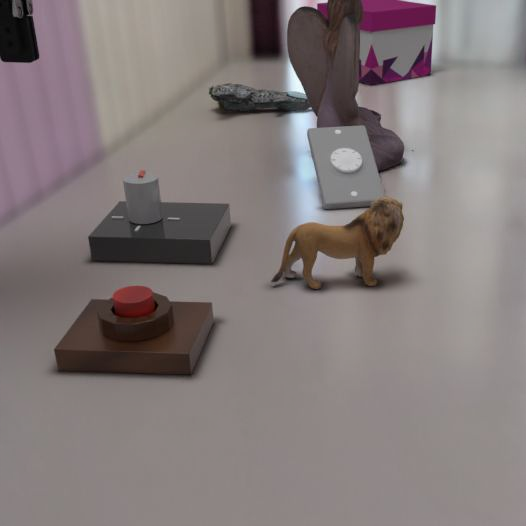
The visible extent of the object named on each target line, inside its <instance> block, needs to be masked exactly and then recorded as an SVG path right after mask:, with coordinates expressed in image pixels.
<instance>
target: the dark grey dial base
mask: <svg viewBox="0 0 526 526" xmlns="http://www.w3.org/2000/svg"><path fill="white" fill-rule="evenodd" d="M161 207H162V215H163V217H162V219H161V220H160V221H158V222H155V223H151V224H135V223H131V222H130V221H129V220H128V213H127V206H126V200H125V201H124V200H120V201H118V202H117V204H116V205H115V206H114V207H113V208H112V209H111V210H110V211H109V212H108V214H107V215H106V216H105V217H104V218H103V219H102V220H101V221H100V223H99V224H98V225H97V226H96V227H95V228H94V229H93V230H92V232H90V234H89V235H88V236H87V239H88V245H89V252H90V256H91V257H90V258H91V261H92V262H120V263H121V262H123V263H159V264H160V263H161V264H162V263H163V264H193V265H194V264H196V265H197V264H199V265H200V264H201V265H213V263H214V261H215V259H216V257H217V255H218V253H219V251H220V249H221V247H222V245H223V243H224V241H225V239H226V238H227V237H226V236H227V235H228V233H229V231H230V229H231V228H232V220H231V208H230V203H219V202H218V203H215V202H213V203H212V202H175V201H174V202H171V201H170V202H169V201H161Z"/></svg>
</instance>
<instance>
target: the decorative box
mask: <svg viewBox="0 0 526 526" xmlns="http://www.w3.org/2000/svg"><path fill="white" fill-rule="evenodd" d="M361 1H362V5H363V13H364V17H363V20H362V23H361V24H360V25H359V29H360V59H359V83H361V84H365V85H369V86H374V85H379V84H385V83H390V82H397V81H401V80H402V81H403V80H409V79H414V78H419V77H420V78H421V77H425V76H431V74H432V56H433V39H434V37H433V36H434V25H436V20H437V19H436V17H437V5H436V4H435V5H434V4H428V3H421V2H414V1H407V0H361ZM316 9H317V10H319V11H320V12H321V13H322V14H323V15H324V17H325V18H326V19H328V15H327V2H318V3H316Z"/></svg>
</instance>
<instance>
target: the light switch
mask: <svg viewBox="0 0 526 526" xmlns="http://www.w3.org/2000/svg"><path fill="white" fill-rule="evenodd" d="M306 136H307V140H308V144H309V148H310V149H309V150H310V154H311V158H312V163H313V167H314V172H315V176H316V180H317V185H318V188H319V192H320V198H321V201H322V206H323V209H324V210H336V209H350V208H365V207H371V202H373V201H375V200H376V199H380V198H381V197H386V195H385V190H384V188H383V184H382V181H381V177H380V174H379V171H378V170H377V166H376V163H375V159H374V156H373V152H372V149H371V145H370V142H369V138H368V134H367V131H366V127H365V126H364V125H363V126H344V127H325V128H317V127H309V128H307V131H306Z"/></svg>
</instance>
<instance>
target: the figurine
mask: <svg viewBox="0 0 526 526" xmlns="http://www.w3.org/2000/svg"><path fill="white" fill-rule="evenodd" d="M326 3H327V15H328V19H326V18H325V17H324V15H323V14H322V13H321V12H320V11H319V10H317V8H315V7H312V6H306V5H304V6H300V7H298V8H296V10H294V12H292V14H291V15H290V17H289V19H288V22H287V29H286V47H287V54H288V58H289V62H290V64H291V66H292V69H293V71H294V73H295V75H296V77H297V78H298V81H299V82H300V84H301V87H302V89H303V91H304V94H306V97H307V99H308V102H309V104H310V106H311V110H312V112H313V114H314V115H315V116H316V128H325V127H344V126H363V125H364V126H365V127H366V131H367V134H368V138H369V142H370V145H371V149H372V152H373V156H374V159H375V163H376V166H377V170H378V172H381V171H384V170H386V169H391V168H393V167H395V166H398V165H399V164H400V163H401V162H402V160H403V157H404V154H405V144H404V141H402V139H401V137H400V136H398V134H396V132H395V131H393V130H391V129H389V128H386V127H383V126H382V124H381V120H382V114H380V113H379V112H377V111H375V110H373V109H369V108H368V107H364V106H359V103H358V102H357V100H356V96H357V93H358V92H359V87H360V82H359V59H360V29H359V25H360V24H361V23H362V20H363V17H364V13H363V5H362V1H361V0H327V1H326Z"/></svg>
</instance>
